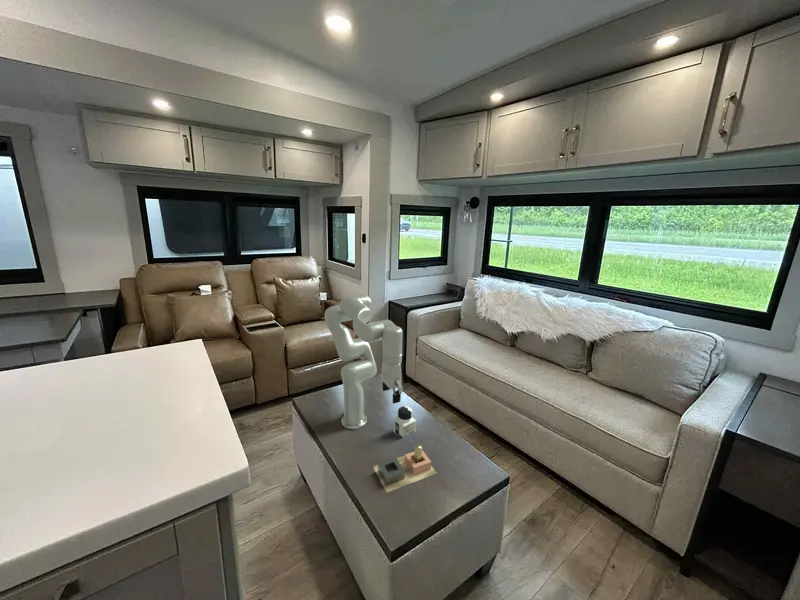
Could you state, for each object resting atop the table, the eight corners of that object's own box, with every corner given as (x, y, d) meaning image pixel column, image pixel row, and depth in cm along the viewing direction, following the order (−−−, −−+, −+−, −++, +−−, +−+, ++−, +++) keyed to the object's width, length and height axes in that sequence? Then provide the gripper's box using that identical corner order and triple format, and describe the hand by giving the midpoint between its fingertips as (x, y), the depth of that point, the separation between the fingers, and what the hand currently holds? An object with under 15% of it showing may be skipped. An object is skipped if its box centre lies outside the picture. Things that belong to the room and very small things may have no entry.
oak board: (372, 469, 135) (372, 466, 134) (419, 453, 144) (419, 450, 144) (386, 495, 123) (386, 492, 122) (436, 476, 132) (437, 473, 132)
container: (403, 440, 152) (404, 416, 148) (392, 431, 158) (393, 408, 154) (415, 433, 157) (416, 410, 153) (405, 425, 162) (406, 402, 159)
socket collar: (404, 461, 137) (404, 454, 136) (421, 455, 141) (421, 448, 140) (413, 475, 130) (413, 468, 129) (431, 468, 134) (431, 461, 133)
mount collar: (377, 470, 132) (377, 463, 131) (395, 464, 136) (396, 457, 135) (385, 485, 125) (385, 478, 124) (404, 478, 129) (404, 471, 128)
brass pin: (412, 463, 136) (413, 445, 134) (418, 461, 138) (419, 443, 135) (416, 468, 134) (417, 450, 131) (422, 466, 135) (423, 448, 133)
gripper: (374, 350, 134) (374, 387, 139) (392, 369, 119) (391, 410, 124) (391, 347, 137) (390, 383, 142) (411, 365, 122) (409, 405, 127)
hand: (391, 396), depth 133 cm, fingers open, 9 cm apart
